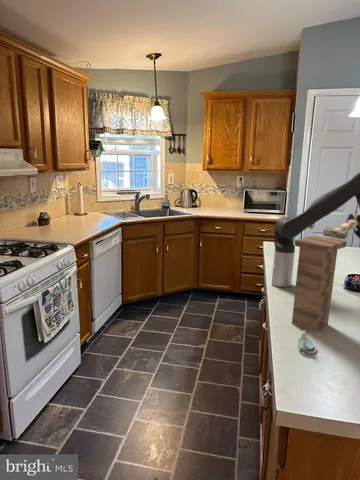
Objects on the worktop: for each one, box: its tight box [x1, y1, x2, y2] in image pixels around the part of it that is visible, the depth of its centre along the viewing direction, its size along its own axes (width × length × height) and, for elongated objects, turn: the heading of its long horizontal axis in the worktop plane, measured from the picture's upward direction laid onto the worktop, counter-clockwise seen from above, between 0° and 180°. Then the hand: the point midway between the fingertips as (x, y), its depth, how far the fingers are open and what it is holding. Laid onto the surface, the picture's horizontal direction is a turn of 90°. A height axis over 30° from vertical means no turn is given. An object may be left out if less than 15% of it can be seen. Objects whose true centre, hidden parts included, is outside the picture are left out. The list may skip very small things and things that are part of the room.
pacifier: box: [296, 330, 318, 355], centre depth 112 cm, size 7×6×6 cm
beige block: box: [322, 215, 360, 240], centre depth 136 cm, size 24×8×2 cm, turn 130°
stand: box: [291, 235, 347, 333], centre depth 127 cm, size 14×12×32 cm
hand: (354, 216), depth 138 cm, fingers closed on beige block, 2 cm apart
